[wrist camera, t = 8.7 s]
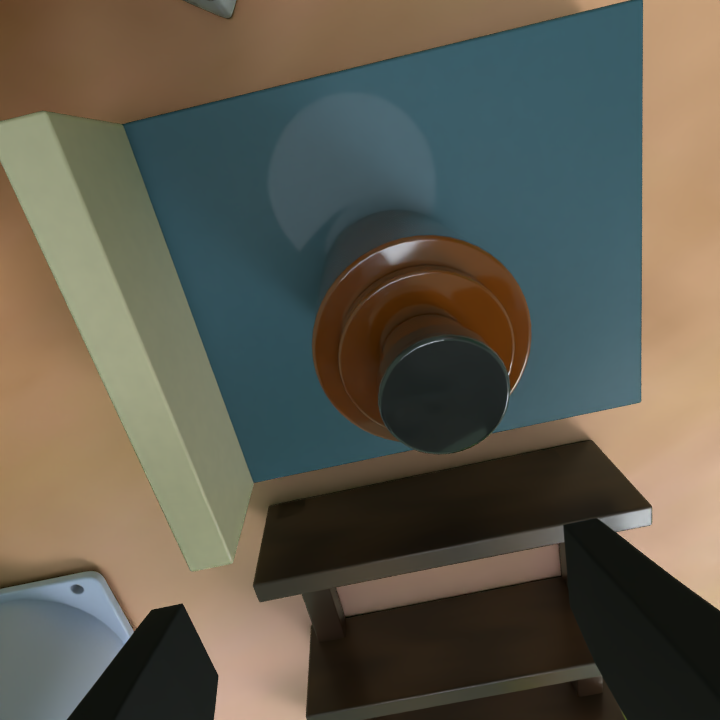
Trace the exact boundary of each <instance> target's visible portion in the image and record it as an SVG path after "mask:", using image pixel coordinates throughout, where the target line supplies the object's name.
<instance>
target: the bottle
mask: <svg viewBox="0 0 720 720" xmlns="http://www.w3.org/2000/svg"><path fill="white" fill-rule="evenodd" d="M531 338H532V330H531V318H530V312H529V308H528V305H527V301H526V298H525V296H524V294H523V292H522V289H521V287H520V285H519V284H518V282H517V281H516V279H515V278H514V276H513V275H512V273H511V272H510V271H509V270H508V269H507V268H506V267H505V266H504V265H503V263H502V262H500V261H499V260H498V259H497V258H495V257H494V256H493V255H492V254H490V253H489V252H487V251H486V250H484V249H482V248H481V247H479V246H477V245H476V244H474V243H472V242H471V241H469V240H468V239H466V238H464V237H463V236H461V235H459V234H458V233H456V232H454V231H453V230H451V229H450V228H448V227H446V226H445V225H443V224H441V223H440V222H438V221H436V220H435V219H433V218H431V217H429V216H427V215H424V214H422V213H419V212H415V211H411V210H402V209H393V210H385V211H379V212H376V213H373V214H370V215H368V216H365V217H363V218H361V219H359V220H358V221H356V222H355V223H353V224H352V225H350V226H349V227H348V228H347V229H346V230H344V231H343V232H342V233H341V235H340V236H339V237H338V238H337V239H336V241H335V242H334V243H333V245H332V246H331V248H330V250H329V252H328V254H327V256H326V258H325V261H324V264H323V268H322V272H321V278H320V285H319V291H318V298H317V304H316V311H315V317H314V324H313V330H312V343H311V346H312V359H313V364H314V369H315V372H316V375H317V378H318V381H319V384H320V385H321V387H322V389H323V391H324V393H325V395H326V396H327V398H328V399H329V401H330V402H331V403H332V405H333V406H334V407H335V408H336V409H337V410H338V411H339V412H340V413H341V415H343V416H344V417H345V418H346V419H348V420H349V421H350V422H351V423H353V424H354V425H356V426H357V427H359V428H361V429H362V430H364V431H366V432H368V433H370V434H373V435H375V436H378V437H381V438H384V439H387V440H392V441H397V442H401V443H403V444H404V445H406V446H408V447H410V448H412V449H414V450H417V451H420V452H423V453H428V454H450V453H456V452H460V451H463V450H466V449H468V448H471V447H472V446H474V445H476V444H478V443H479V442H481V441H482V440H484V439H485V438H486V437H488V436H489V435H490V434H491V433H492V432H493V431H494V430H495V429H496V427H497V426H498V425H499V423H500V422H501V420H502V418H503V417H504V415H505V412H506V410H507V407H508V403H509V399H510V395H511V394H512V392H513V391H514V390H515V388H516V386H517V384H518V383H519V381H520V379H521V377H522V375H523V372H524V370H525V367H526V365H527V361H528V357H529V353H530V346H531Z"/></svg>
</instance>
